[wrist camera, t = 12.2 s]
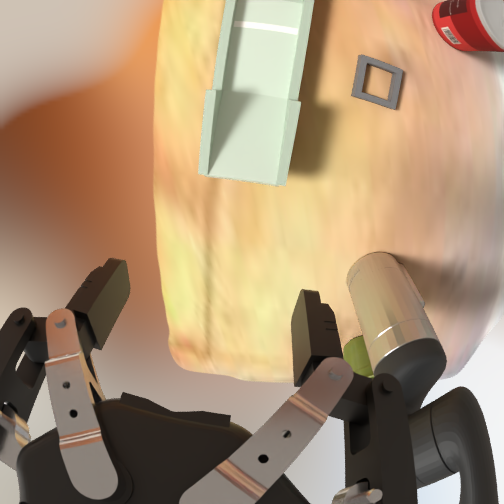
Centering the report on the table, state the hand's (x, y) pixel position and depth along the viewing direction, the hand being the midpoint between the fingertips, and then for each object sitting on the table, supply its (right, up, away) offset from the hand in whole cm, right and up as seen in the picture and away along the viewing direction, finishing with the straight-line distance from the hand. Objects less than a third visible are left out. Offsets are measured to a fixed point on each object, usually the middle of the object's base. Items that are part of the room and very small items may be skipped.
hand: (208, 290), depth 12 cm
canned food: (+29, +32, +7) cm, 44 cm away
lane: (+3, +25, +13) cm, 29 cm away
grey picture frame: (+17, +22, +14) cm, 31 cm away
